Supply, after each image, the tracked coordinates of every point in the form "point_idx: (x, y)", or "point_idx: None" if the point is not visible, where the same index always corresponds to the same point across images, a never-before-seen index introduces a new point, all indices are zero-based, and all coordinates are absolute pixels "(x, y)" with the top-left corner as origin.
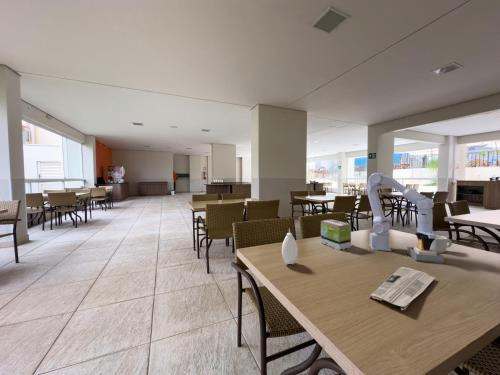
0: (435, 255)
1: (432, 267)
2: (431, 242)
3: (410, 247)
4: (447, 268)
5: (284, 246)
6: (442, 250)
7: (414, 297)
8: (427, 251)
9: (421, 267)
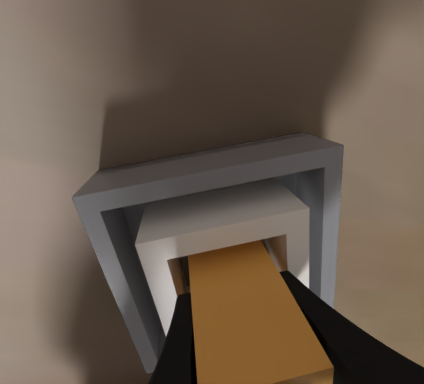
0: (333, 213)
1: (391, 219)
2: (399, 361)
3: (153, 357)
4: (396, 136)
5: None
6: None
7: None
8: (300, 277)
9: (398, 269)
